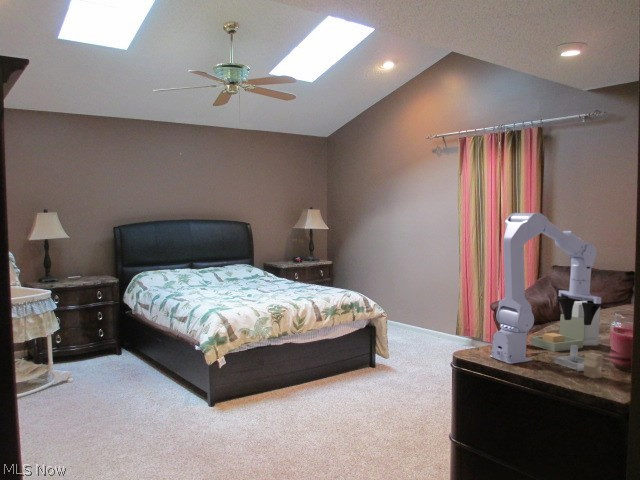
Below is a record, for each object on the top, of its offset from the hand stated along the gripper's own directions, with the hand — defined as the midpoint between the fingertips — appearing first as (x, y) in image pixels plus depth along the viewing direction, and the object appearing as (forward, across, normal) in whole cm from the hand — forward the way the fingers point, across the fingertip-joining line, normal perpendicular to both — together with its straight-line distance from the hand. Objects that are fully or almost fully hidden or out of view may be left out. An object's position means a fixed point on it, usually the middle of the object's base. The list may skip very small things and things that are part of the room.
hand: (577, 322), depth 158 cm
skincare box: (+10, +8, -12) cm, 18 cm away
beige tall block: (+10, -20, +16) cm, 27 cm away
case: (+10, +7, +1) cm, 12 cm away
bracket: (+10, -12, +13) cm, 20 cm away
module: (+10, +7, +3) cm, 12 cm away
